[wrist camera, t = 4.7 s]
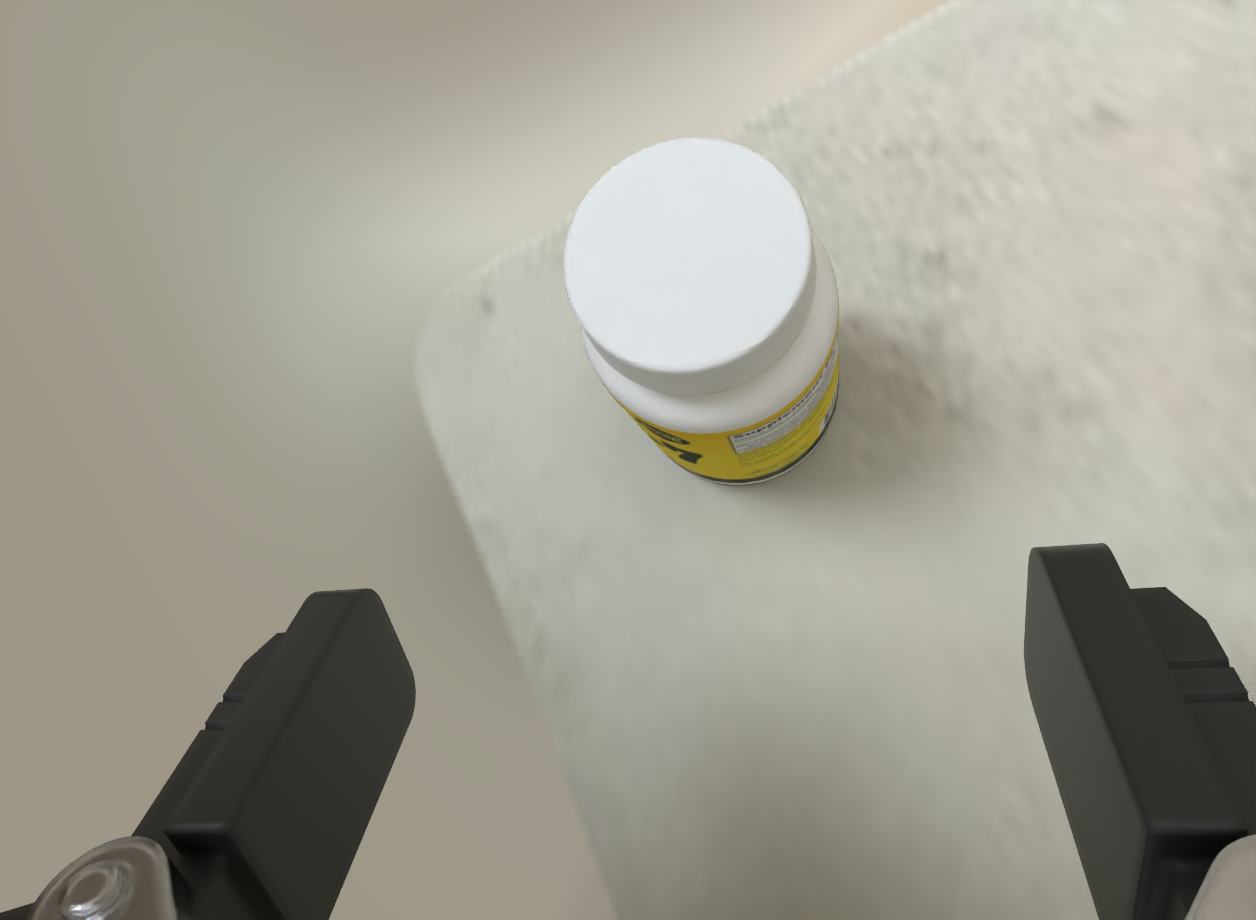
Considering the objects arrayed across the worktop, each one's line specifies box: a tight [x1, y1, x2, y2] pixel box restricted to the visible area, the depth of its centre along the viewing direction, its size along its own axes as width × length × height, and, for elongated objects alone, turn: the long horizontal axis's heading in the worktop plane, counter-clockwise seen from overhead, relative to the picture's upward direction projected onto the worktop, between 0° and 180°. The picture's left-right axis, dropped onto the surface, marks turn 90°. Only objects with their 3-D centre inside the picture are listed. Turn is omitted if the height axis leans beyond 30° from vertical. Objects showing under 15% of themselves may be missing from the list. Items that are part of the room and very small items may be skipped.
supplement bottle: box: [564, 137, 839, 485], centre depth 18 cm, size 5×5×8 cm
